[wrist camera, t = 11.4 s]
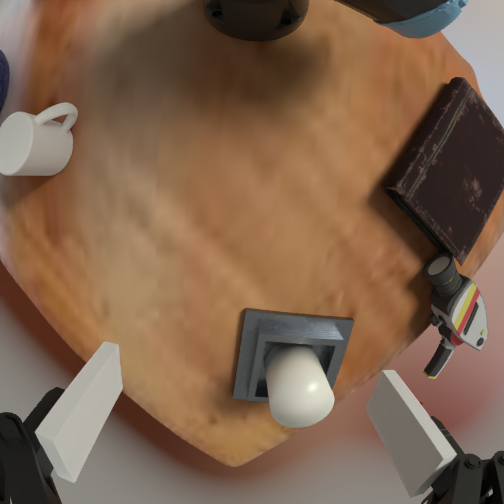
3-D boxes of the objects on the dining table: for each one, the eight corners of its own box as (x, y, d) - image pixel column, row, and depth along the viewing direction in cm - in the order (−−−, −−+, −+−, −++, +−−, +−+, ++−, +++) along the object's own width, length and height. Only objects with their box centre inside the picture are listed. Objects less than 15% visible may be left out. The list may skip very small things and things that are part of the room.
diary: (376, 186, 38) (393, 185, 33) (445, 81, 34) (462, 73, 29) (447, 262, 40) (465, 270, 35) (503, 157, 37) (520, 157, 32)
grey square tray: (245, 307, 40) (246, 318, 37) (352, 317, 41) (360, 327, 38) (232, 394, 44) (232, 408, 40) (325, 399, 44) (330, 412, 41)
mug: (-14, 145, 24) (39, 76, 23) (28, 149, 34) (77, 95, 33) (5, 189, 25) (61, 117, 24) (48, 186, 36) (100, 131, 34)
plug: (269, 338, 40) (277, 380, 31) (322, 342, 41) (342, 382, 31) (260, 382, 42) (265, 426, 32) (310, 384, 42) (324, 427, 33)
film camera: (375, 308, 42) (439, 245, 40) (422, 373, 45) (476, 319, 42) (393, 327, 35) (464, 253, 33) (439, 392, 38) (497, 333, 36)
